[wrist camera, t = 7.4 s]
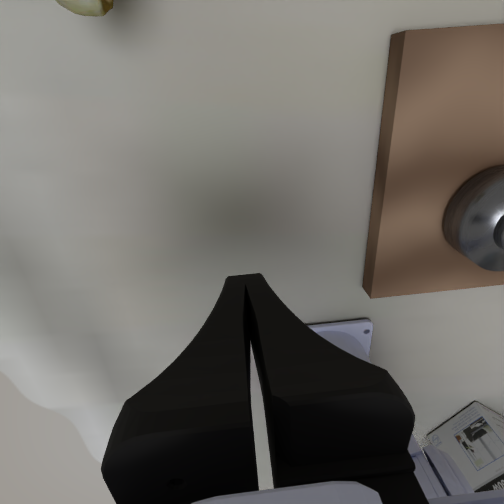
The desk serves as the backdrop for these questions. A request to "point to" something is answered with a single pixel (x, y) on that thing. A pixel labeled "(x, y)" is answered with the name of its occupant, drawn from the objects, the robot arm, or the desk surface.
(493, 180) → the grey lever handle
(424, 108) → the base
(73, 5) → the mug
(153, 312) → the desk surface
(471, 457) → the light bulb box
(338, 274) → the desk surface
